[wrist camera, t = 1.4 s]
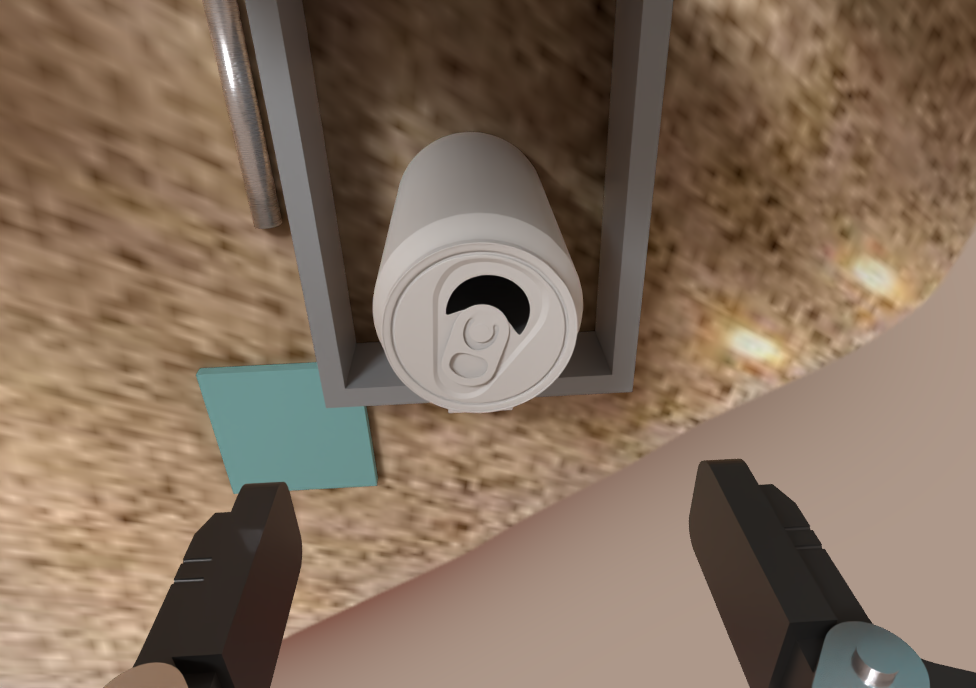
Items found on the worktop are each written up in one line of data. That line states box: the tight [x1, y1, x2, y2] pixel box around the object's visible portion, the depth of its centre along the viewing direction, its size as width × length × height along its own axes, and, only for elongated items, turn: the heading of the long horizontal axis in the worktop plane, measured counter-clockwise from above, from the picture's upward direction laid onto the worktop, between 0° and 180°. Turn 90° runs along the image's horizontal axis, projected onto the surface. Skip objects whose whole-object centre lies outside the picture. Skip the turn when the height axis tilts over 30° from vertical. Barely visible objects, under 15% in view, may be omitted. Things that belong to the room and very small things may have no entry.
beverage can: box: [373, 132, 583, 413], centre depth 23 cm, size 6×6×12 cm
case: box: [245, 0, 673, 413], centre depth 26 cm, size 19×14×4 cm
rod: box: [203, 0, 282, 229], centre depth 26 cm, size 9×1×1 cm
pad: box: [196, 362, 378, 494], centre depth 34 cm, size 8×8×1 cm
